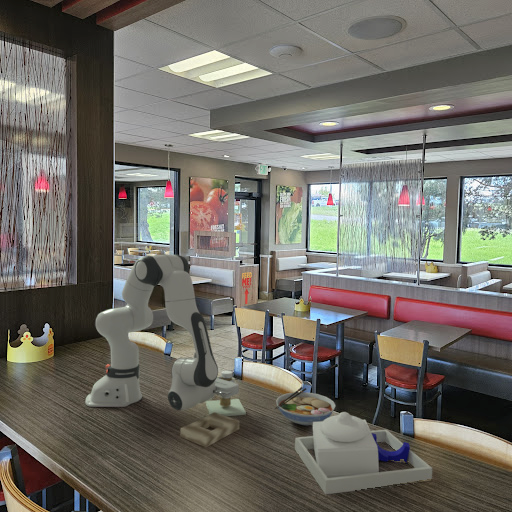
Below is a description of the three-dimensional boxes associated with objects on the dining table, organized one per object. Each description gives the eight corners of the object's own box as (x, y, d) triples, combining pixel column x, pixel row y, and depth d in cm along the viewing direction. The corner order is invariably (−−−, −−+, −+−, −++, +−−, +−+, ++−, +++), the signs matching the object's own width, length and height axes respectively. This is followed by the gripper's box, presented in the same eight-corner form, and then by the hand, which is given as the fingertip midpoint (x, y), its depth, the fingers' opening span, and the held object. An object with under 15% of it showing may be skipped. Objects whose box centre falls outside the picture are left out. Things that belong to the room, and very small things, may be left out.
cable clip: (368, 456, 144) (372, 439, 143) (367, 449, 148) (371, 432, 148) (406, 467, 142) (410, 449, 141) (404, 460, 146) (408, 443, 146)
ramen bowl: (319, 442, 156) (319, 419, 155) (262, 425, 168) (263, 404, 167) (344, 417, 177) (345, 397, 177) (293, 404, 189) (294, 385, 189)
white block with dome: (319, 478, 133) (316, 427, 132) (313, 447, 151) (311, 401, 150) (379, 476, 132) (376, 424, 131) (366, 444, 150) (364, 399, 149)
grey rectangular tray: (325, 494, 125) (326, 480, 125) (294, 449, 150) (295, 437, 150) (431, 481, 134) (432, 468, 133) (385, 440, 159) (386, 429, 159)
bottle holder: (205, 447, 150) (206, 438, 150) (180, 436, 157) (180, 428, 157) (239, 428, 164) (239, 420, 164) (214, 419, 171) (214, 412, 171)
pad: (210, 417, 174) (210, 414, 174) (205, 403, 187) (205, 401, 187) (245, 414, 177) (246, 412, 177) (238, 401, 191) (238, 398, 190)
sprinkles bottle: (225, 402, 185) (227, 369, 185) (233, 405, 182) (235, 372, 181) (217, 404, 181) (219, 371, 181) (224, 407, 178) (226, 374, 178)
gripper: (225, 387, 165) (248, 377, 176) (185, 375, 176) (209, 367, 188) (225, 403, 165) (247, 393, 176) (185, 391, 177) (208, 382, 188)
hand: (227, 379), depth 182 cm, fingers closed on sprinkles bottle, 4 cm apart
